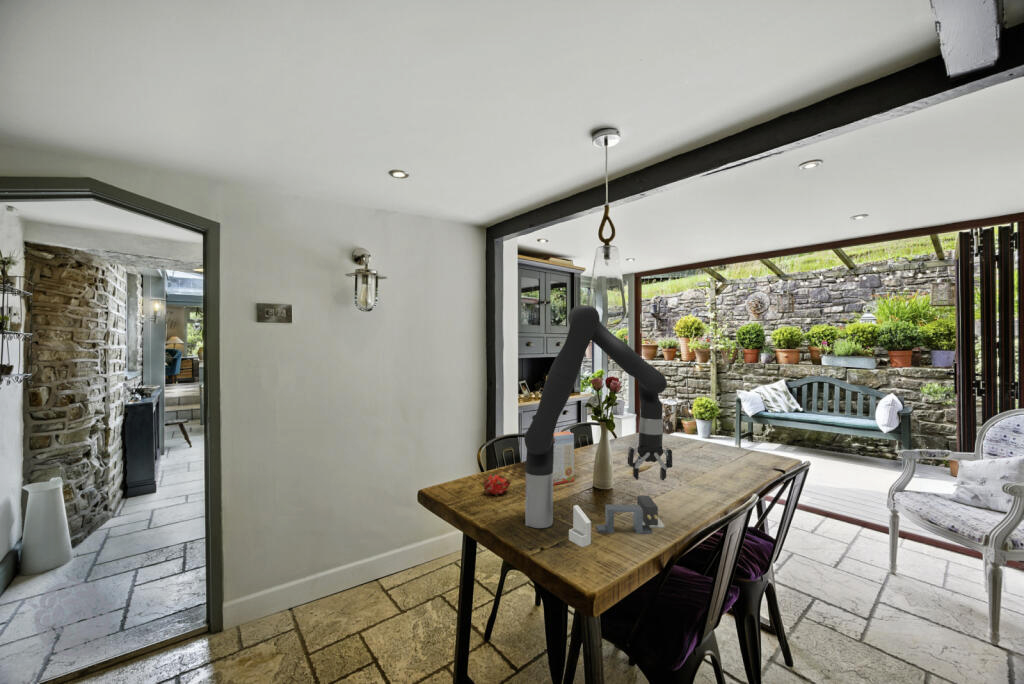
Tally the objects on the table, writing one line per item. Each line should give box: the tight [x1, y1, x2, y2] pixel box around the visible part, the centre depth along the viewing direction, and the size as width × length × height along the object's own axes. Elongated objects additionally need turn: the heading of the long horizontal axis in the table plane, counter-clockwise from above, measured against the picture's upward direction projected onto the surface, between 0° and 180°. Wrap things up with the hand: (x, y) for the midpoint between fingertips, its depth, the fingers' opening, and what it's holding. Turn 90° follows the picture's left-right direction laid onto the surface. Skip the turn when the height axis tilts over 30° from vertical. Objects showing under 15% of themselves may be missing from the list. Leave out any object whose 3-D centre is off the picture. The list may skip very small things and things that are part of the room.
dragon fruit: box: [482, 473, 511, 496], centre depth 169 cm, size 8×8×12 cm
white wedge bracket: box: [568, 504, 592, 548], centre depth 130 cm, size 4×10×9 cm
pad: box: [630, 512, 666, 529], centre depth 146 cm, size 8×14×1 cm, turn 178°
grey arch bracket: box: [595, 504, 653, 535], centre depth 137 cm, size 17×4×8 cm, turn 88°
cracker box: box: [553, 430, 575, 486], centre depth 182 cm, size 14×6×21 cm, turn 115°
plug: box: [636, 495, 659, 525], centre depth 145 cm, size 4×13×6 cm, turn 179°
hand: (649, 479), depth 142 cm, fingers open, 8 cm apart
